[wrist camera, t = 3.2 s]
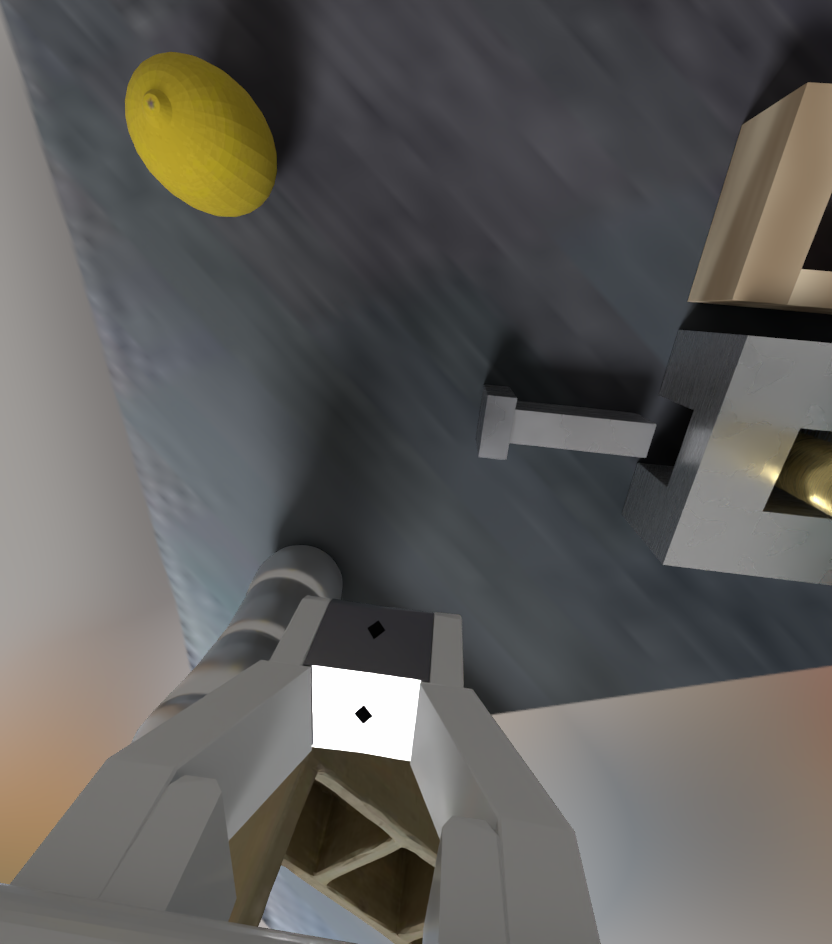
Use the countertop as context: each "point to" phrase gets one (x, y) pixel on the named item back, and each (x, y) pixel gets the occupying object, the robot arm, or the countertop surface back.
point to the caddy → (343, 841)
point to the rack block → (773, 210)
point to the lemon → (200, 134)
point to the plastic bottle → (255, 624)
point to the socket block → (739, 459)
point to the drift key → (557, 427)
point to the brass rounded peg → (809, 472)
